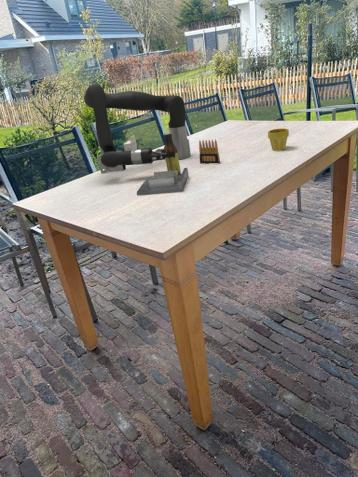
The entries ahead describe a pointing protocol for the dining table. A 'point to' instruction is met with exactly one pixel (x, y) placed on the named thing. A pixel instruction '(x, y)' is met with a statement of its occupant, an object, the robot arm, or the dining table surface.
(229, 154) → the dining table surface
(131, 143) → the ink cartridge box
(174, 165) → the sauce bottle
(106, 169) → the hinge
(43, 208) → the dining table surface
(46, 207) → the dining table surface
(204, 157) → the ammunition clip
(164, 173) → the plate
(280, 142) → the plant pot
